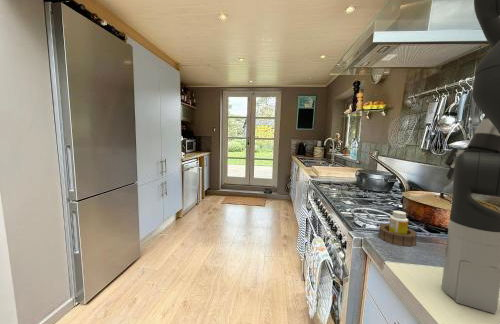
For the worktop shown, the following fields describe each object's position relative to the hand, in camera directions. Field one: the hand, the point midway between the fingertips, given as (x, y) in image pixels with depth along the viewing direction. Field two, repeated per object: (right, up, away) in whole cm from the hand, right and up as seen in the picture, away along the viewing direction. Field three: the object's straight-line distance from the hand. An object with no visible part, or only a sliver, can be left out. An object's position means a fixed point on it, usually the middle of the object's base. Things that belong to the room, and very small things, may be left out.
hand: (466, 184), depth 70 cm
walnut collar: (-14, -21, +12) cm, 28 cm away
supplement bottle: (-14, -22, +12) cm, 28 cm away
